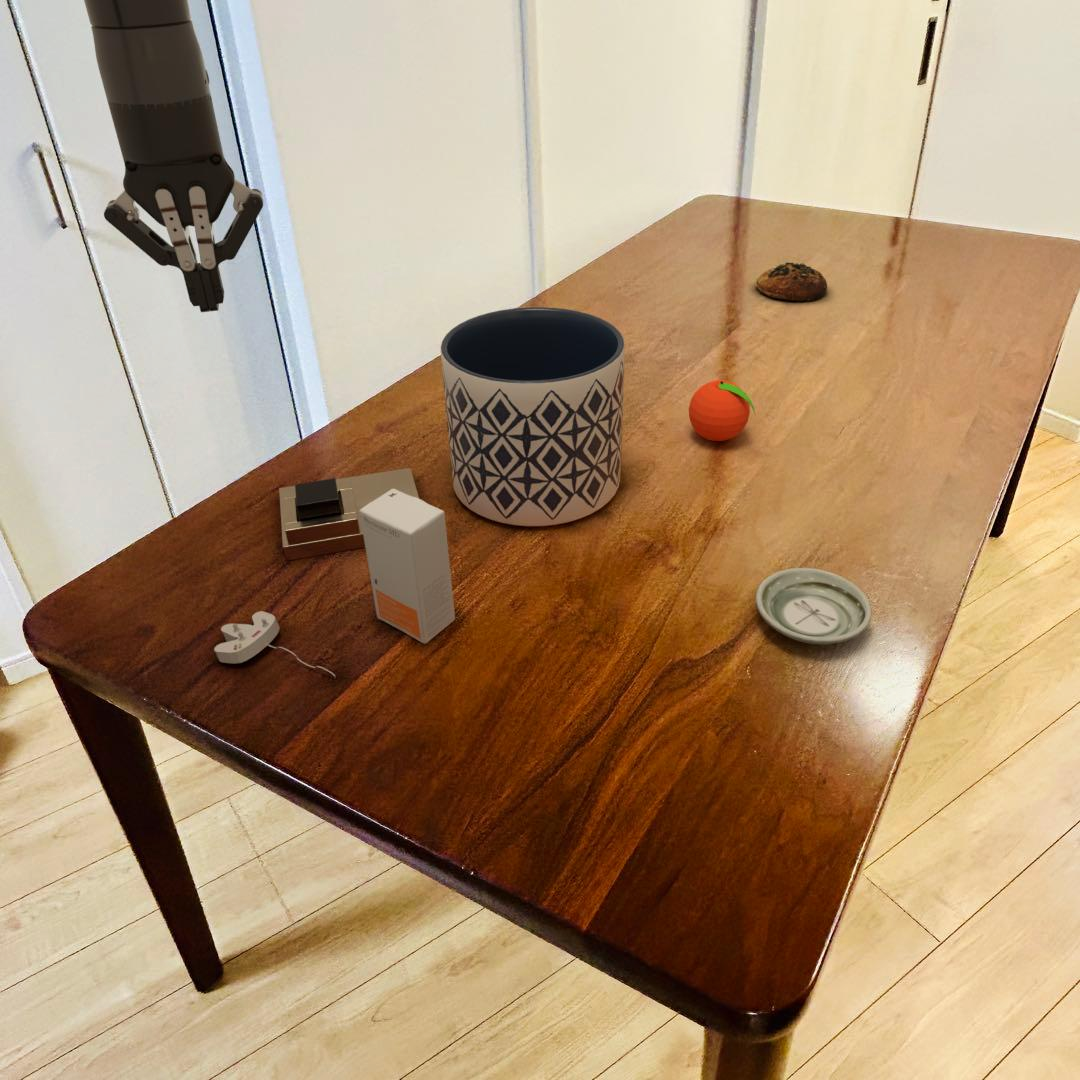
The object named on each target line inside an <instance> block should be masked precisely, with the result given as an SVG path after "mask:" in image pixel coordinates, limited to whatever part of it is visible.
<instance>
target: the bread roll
mask: <svg viewBox="0 0 1080 1080" xmlns="http://www.w3.org/2000/svg"><path fill="white" fill-rule="evenodd" d="M754 285H755V287H756V288H757V290H758V291H759V292H760V293H761V294H765V295H766V296H768V297H769V298H773V299H776V298H777V299H780V300H787V301H797V302H805V301H806V302H809V303H810V302H815V301H817V300H819V299H822V297H823V296H824V295H825V293H826V292H827V289H828V283H827V280H826V278H825V277H824V275H823V274H822V273H821V272H820V271H818V270H817V269H814V268H812V267H811V266H809V265H807V264H805V263H804V262H801V263H798V262H785V263H782V264H781V263H779V265H776V266H775V267H772V268H770V269H767V270H765V271H764V272H762V273H761V274H760V275H759V277H757V278H756V279H755V283H754Z"/></svg>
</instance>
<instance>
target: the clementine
mask: <svg viewBox="0 0 1080 1080" xmlns="http://www.w3.org/2000/svg"><path fill="white" fill-rule="evenodd" d="M751 408H752V411H753V413H754V415H756V411H755V406H754V404H753V402H752V399H751V398H750V397H749V395H748V394H747V393H746V392H745V391H744V390H743V388H741V387H740V386H738V385H737V384H735V383H733V382H731V381H729V380H725V379H717V380H712V381H708V382H707V383H704V384H703V385H701V386H700V387H699V388H698V389H697V390H696V391H695V392H694V393H693V395H692V396H691V398H690V402H689V406H688V417H689V418H688V419H689V421H690V422H689V423H690V424H691V427H692V428H693V430H695V431H696V433H697V434H698V435H699V436H701V437H703V438H704V439H707V440H708V441H712V442H724V441H728V440H731V439H733V438H735V437H737V436H738V435H739V434H740V433H742V431H743V430H744V429H745V427H746V426H747V424H748V421H749V418H750V414H751Z"/></svg>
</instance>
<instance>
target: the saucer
mask: <svg viewBox="0 0 1080 1080" xmlns="http://www.w3.org/2000/svg"><path fill="white" fill-rule="evenodd" d="M755 605H756V608H757V611H758V613H759V615H760V616H761V618H762V619H763V620H764V622H765V623H766V624H768V625H769V626H770V627H771V628H772V629H774V630H775V631H776V632H778V633H780V634H782V636H785V637H787V638H789V639H792V640H794V641H796V642H800V643H805V644H808V645H809V644H810V645H832V644H840V643H844V642H847V641H850V640H852V639H855V638H856V637H858V636H859V635H861V634H862V633H863V632H865V631H866V629H867V628H868V626H869V625H870V622H871V620H872V616H873V615H872V614H873V613H872V611H873V609H872V606H871V603H870V601H869V599H868V597H867V595H866V594H865V593H864V592H863V590H862V589H860V588H859V587H858V586H857V585H856V584H855V583H853V582H852V581H850V580H848V579H847V578H846V577H844V576H840V575H839V574H836V573H833V572H830V571H827V570H825V569H824V570H823V569H818V568H812V567H793V568H787V569H782V570H779V571H776V572H774V573H772V574H770V575H769V576H767V577H766V578H764V580H762V581H761V582H760V584H759V585H758V587H757V588H756V592H755Z"/></svg>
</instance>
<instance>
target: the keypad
mask: <svg viewBox="0 0 1080 1080" xmlns="http://www.w3.org/2000/svg"><path fill="white" fill-rule="evenodd" d="M335 479H336V484H337V490H338V495H339V501H340V508H341V514H342V515H337V516H331V517H325V518H319V519H313V520H307V521H301V522H300V519H299V514H298V510H297V504H296V492H295V485H290V486H285V487H279V488H278V491H279V492H278V494H279V507H280V522H281V523H280V525H281V540H282V551H283V553H284V554H283V555H284V558H285V561H286V562H289V561H294V560H300V559H305V558H311V557H316V556H322V555H329V554H334V553H340V552H346V551H351V550H357V549H364V548H365V542H364V536H363V530H362V524H361V518H360V512H359V511H360V509H362V508H363V507H364V506H366V505H367V504H369V503H371V502H372V501H374V500H375V499H377V498H379V497H380V496H382V495H383V494H385V493H386V492H388V491H390V490H391V489H396V490H398V491H400V492H403V493H405V494H407V495H410V496H412V497H416V498H419V499H420V495H419V493H418V489H417V486H416V484H415V479H414V475H413V472H412V468H411V467H406V468H399V469H392V470H388V471H380V472H375V473H367V474H362V475H356V476H348V477H342V478H335Z"/></svg>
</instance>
